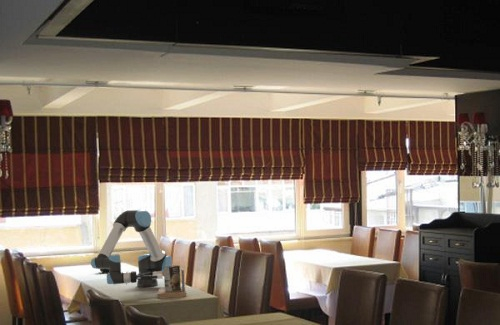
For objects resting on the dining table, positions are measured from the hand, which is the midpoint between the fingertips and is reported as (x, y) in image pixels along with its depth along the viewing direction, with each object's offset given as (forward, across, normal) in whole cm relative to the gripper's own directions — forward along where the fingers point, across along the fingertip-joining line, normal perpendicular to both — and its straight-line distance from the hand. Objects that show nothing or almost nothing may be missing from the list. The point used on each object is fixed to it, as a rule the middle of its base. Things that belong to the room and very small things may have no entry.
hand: (162, 275), depth 482 cm
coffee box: (+6, 0, -11) cm, 13 cm away
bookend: (+13, 0, -11) cm, 17 cm away
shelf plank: (+6, 0, -14) cm, 15 cm away
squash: (-47, -146, -14) cm, 154 cm away
